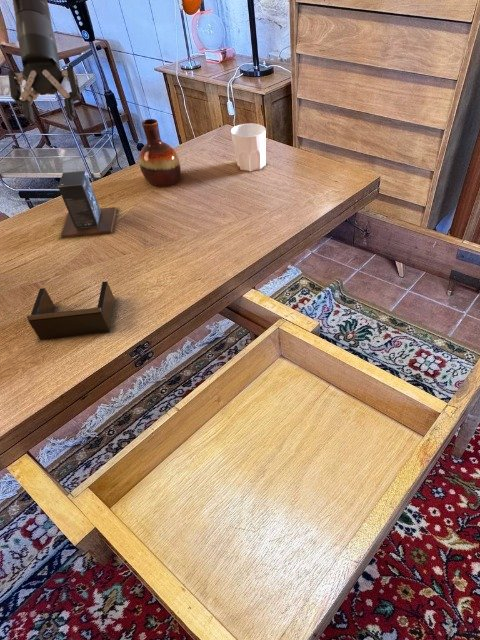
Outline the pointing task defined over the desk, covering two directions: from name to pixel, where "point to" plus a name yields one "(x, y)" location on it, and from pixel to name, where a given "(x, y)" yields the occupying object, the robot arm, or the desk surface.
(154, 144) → the vase
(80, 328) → the dark brown open tray
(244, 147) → the cup
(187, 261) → the desk surface
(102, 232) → the plate
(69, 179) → the box
